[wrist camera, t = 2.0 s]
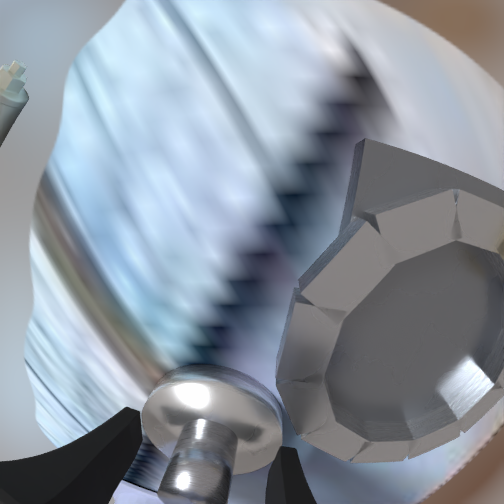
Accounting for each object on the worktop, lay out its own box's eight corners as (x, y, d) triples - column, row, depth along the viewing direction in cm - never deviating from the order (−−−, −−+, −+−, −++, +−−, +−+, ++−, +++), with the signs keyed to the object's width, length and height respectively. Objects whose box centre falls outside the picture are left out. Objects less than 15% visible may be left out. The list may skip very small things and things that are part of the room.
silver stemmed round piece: (268, 460, 12) (263, 539, 7) (156, 437, 13) (123, 507, 8) (295, 376, 11) (302, 477, 6) (151, 349, 11) (93, 429, 6)
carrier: (459, 421, 11) (494, 483, 6) (257, 413, 11) (243, 508, 6) (540, 217, 8) (615, 236, 3) (320, 135, 9) (356, 84, 4)
